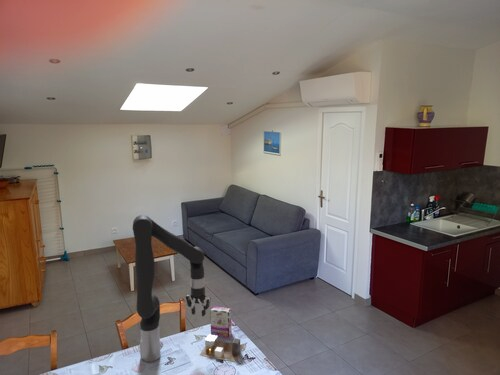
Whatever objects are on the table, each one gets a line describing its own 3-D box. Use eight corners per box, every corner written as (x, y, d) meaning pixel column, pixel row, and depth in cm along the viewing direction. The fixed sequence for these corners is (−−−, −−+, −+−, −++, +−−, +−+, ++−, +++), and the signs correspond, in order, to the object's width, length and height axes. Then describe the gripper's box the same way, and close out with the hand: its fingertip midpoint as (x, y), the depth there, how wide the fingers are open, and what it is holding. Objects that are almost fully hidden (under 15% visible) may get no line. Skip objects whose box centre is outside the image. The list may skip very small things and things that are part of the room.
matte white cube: (214, 356, 180) (214, 350, 180) (217, 352, 184) (217, 346, 183) (220, 358, 179) (220, 351, 179) (223, 353, 183) (223, 347, 182)
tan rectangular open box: (199, 356, 182) (198, 342, 181) (210, 341, 195) (209, 328, 194) (235, 364, 176) (235, 349, 175) (244, 347, 189) (243, 334, 188)
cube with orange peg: (202, 353, 182) (202, 343, 181) (209, 344, 190) (208, 334, 189) (211, 355, 181) (211, 345, 180) (217, 346, 189) (217, 336, 188)
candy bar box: (231, 334, 202) (231, 307, 199) (229, 339, 197) (228, 312, 194) (213, 331, 204) (212, 305, 202) (210, 336, 199) (209, 310, 197)
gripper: (182, 286, 182) (183, 316, 185) (207, 289, 178) (208, 320, 181) (188, 280, 189) (189, 309, 192) (213, 283, 185) (213, 313, 188)
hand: (198, 314), depth 186 cm, fingers open, 5 cm apart
